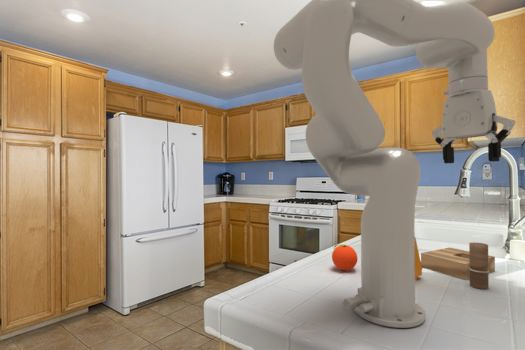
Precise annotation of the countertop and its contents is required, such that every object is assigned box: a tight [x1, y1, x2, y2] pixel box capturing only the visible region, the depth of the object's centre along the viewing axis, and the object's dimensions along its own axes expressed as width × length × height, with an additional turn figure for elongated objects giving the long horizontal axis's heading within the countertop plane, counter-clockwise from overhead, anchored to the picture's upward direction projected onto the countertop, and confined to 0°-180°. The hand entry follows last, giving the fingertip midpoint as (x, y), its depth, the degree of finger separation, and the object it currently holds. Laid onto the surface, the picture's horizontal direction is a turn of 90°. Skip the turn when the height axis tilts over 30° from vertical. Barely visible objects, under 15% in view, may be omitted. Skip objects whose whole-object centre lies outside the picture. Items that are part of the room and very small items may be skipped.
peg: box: [468, 242, 490, 290], centre depth 70 cm, size 4×4×10 cm
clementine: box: [331, 244, 359, 271], centre depth 83 cm, size 8×7×7 cm
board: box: [420, 247, 496, 280], centre depth 83 cm, size 14×12×4 cm
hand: (470, 162), depth 69 cm, fingers open, 9 cm apart
